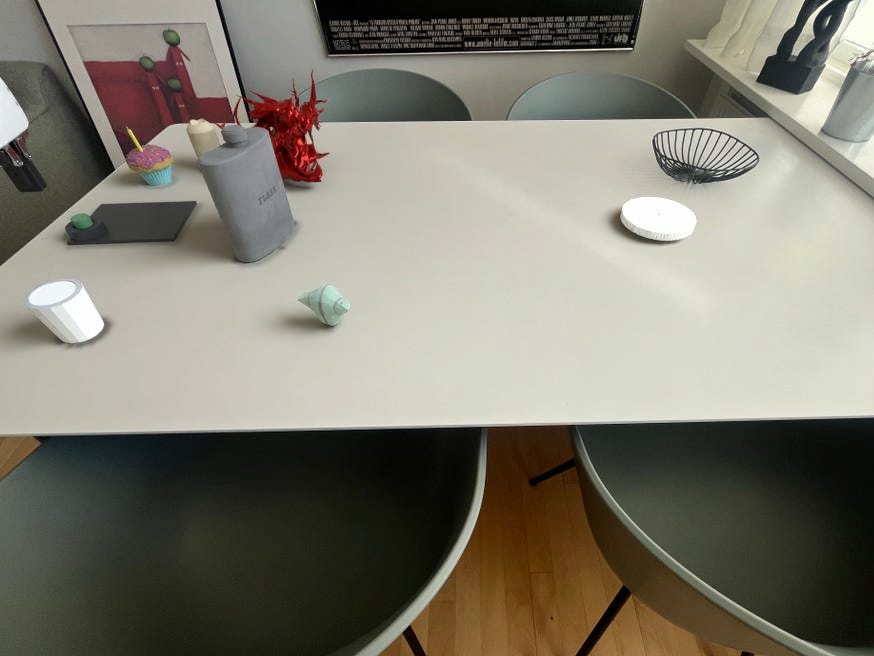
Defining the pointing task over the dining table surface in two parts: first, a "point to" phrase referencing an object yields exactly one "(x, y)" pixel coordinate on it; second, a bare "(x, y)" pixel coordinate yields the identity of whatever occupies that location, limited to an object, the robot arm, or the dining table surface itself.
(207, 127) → the candle
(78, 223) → the tare button
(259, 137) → the flask
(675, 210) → the plastic lid
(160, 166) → the cupcake
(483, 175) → the dining table surface
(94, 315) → the shot glass
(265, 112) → the sculptural form
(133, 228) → the scale
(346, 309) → the mint green pointed part
